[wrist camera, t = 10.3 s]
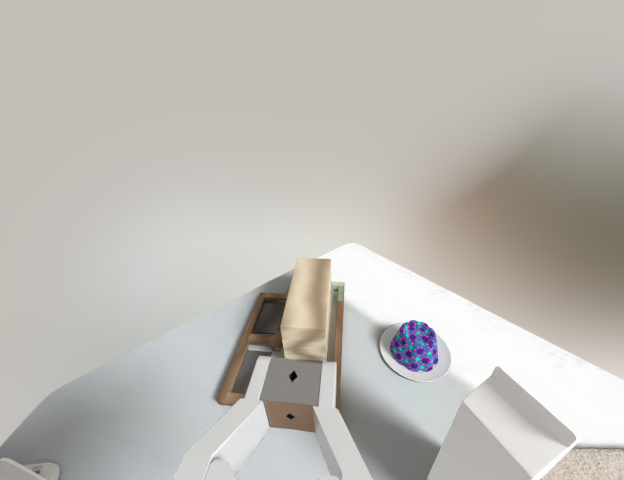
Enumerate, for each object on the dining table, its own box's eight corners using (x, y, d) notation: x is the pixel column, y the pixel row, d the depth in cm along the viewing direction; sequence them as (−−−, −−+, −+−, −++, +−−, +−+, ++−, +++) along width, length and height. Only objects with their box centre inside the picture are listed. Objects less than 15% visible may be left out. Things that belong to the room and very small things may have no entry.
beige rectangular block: (286, 365, 48) (280, 326, 43) (300, 293, 64) (297, 258, 58) (326, 368, 48) (325, 329, 42) (331, 294, 63) (330, 259, 57)
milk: (459, 458, 36) (520, 349, 24) (504, 516, 31) (606, 415, 20) (423, 483, 34) (470, 378, 22) (464, 550, 29) (552, 459, 18)
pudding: (378, 322, 56) (381, 303, 53) (442, 329, 54) (448, 309, 51) (380, 378, 46) (383, 359, 43) (458, 389, 44) (466, 370, 41)
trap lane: (209, 430, 40) (206, 425, 39) (267, 283, 67) (266, 278, 66) (337, 447, 38) (337, 442, 37) (344, 287, 64) (344, 282, 64)
